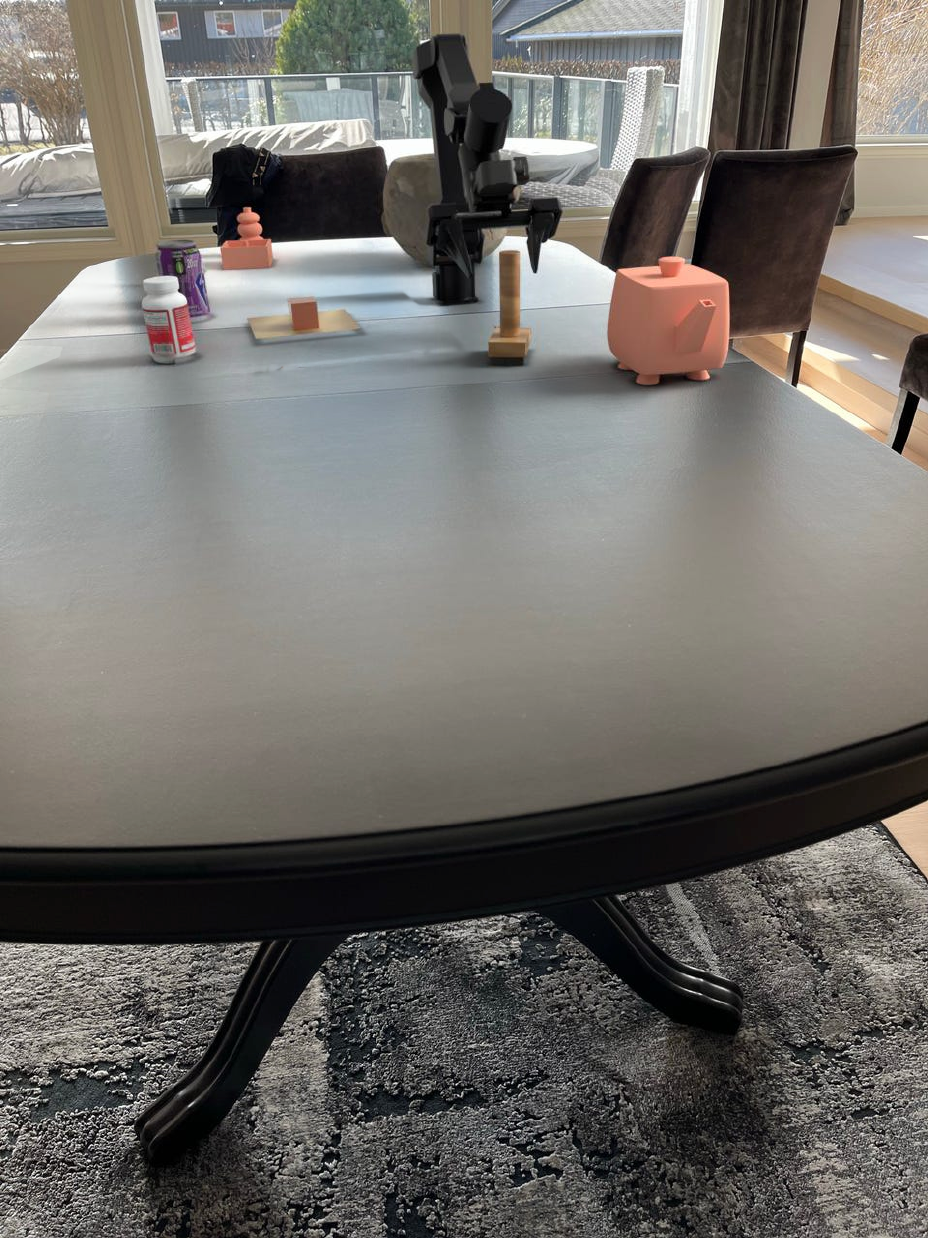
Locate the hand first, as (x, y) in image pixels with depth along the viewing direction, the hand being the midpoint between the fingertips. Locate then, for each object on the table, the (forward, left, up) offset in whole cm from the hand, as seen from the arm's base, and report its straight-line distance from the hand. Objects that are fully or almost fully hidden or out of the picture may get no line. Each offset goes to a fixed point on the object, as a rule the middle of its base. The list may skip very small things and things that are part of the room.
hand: (503, 273), depth 129 cm
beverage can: (+42, -40, -11) cm, 59 cm away
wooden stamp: (0, +3, -11) cm, 11 cm away
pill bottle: (+45, -15, -11) cm, 49 cm away
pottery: (+27, -90, -11) cm, 94 cm away
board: (+25, -25, -11) cm, 37 cm away
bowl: (-11, -68, -11) cm, 69 cm away
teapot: (-16, +18, -11) cm, 26 cm away
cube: (+25, -22, -10) cm, 35 cm away
